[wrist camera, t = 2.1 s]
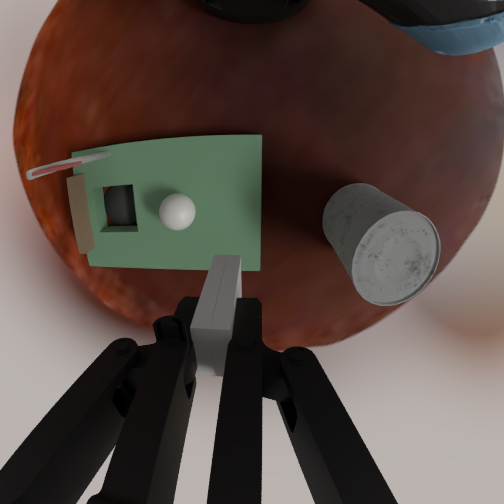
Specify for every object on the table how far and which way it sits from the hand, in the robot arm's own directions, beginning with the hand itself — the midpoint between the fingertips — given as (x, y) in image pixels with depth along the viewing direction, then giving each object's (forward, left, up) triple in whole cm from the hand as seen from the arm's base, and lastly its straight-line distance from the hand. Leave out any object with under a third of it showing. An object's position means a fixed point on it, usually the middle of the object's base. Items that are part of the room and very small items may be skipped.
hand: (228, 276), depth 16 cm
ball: (0, -7, -14) cm, 15 cm away
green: (0, -10, -18) cm, 21 cm away
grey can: (+2, +15, -19) cm, 24 cm away
